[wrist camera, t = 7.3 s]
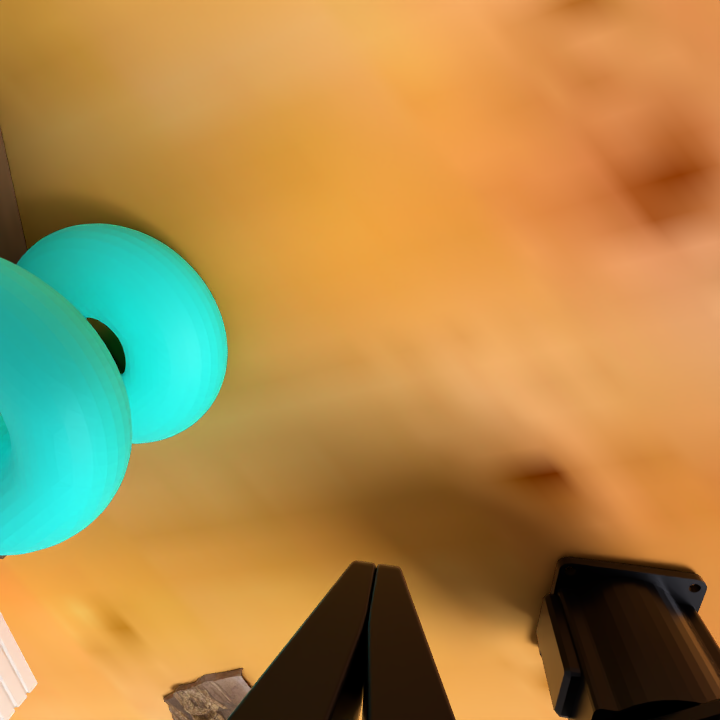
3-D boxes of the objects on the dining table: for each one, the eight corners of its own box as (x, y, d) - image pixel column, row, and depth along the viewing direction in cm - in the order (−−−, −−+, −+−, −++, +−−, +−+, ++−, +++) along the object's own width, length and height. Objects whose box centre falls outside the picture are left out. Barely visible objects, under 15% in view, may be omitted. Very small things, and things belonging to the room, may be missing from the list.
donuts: (-33, 620, 15) (-298, 390, 13) (145, 456, 24) (4, 308, 23) (159, 482, 12) (-158, 152, 10) (281, 354, 21) (128, 171, 19)
